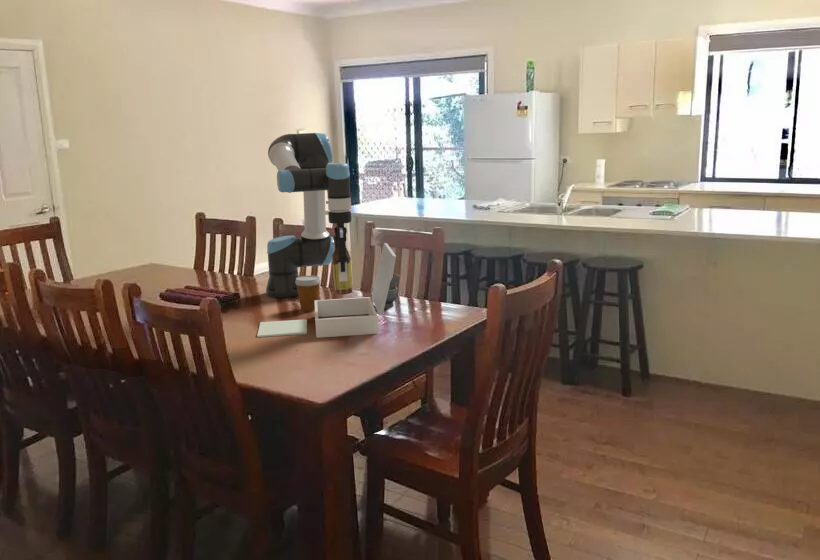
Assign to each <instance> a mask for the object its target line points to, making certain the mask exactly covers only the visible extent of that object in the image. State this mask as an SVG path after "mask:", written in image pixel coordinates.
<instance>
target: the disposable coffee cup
mask: <svg viewBox="0 0 820 560" xmlns="http://www.w3.org/2000/svg"><path fill="white" fill-rule="evenodd" d="M321 281H322V280H321V278H320V276H319V275H302V276H299V277H297V278H296V281H295V283H296V285H297V290H298V295H297V296H298V299H299V306H300V309H301V311H302V312H315V302H314V300H320V299H319V298H320V288H321V287H320V286H321Z"/></svg>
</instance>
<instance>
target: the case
mask: <svg viewBox="0 0 820 560" xmlns="http://www.w3.org/2000/svg"><path fill="white" fill-rule="evenodd" d="M314 302H315V311H314V320H315V338H319V339H320V338H332V337H346V336H348V337H349V336H361V335H378V334H379V325H378V312H377V310H376V309H375V308H376V307H375V305H374V302H373V299H372V297H371V296H367V297H366V296H365V297H351V298H349V297H346V298H334V299H332V298H331V299H319V300H314ZM354 315H355V316H354ZM339 316H340V317H339Z"/></svg>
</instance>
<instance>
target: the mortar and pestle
mask: <svg viewBox="0 0 820 560" xmlns="http://www.w3.org/2000/svg"><path fill="white" fill-rule="evenodd" d="M399 279H401V275H400V274H397V273H394V272H393V273H392V277H391V282H390V286H389V290H388V294H387V299H386V303H385V307H384V309H391V308H394V307H395V306H394V305H395V304H394V302H395V301H396V300H397V297H398V295H399V294H398V293H399V288H398V286H397V284H398V282H399ZM373 288H374V287H372V288H371V291H372V293H373Z"/></svg>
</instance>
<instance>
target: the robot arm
mask: <svg viewBox="0 0 820 560" xmlns="http://www.w3.org/2000/svg"><path fill="white" fill-rule="evenodd" d="M267 155H268V159H269V162H270V163H271V164H272V165H273V166H274V167H276V168H275V169H276V171H277V172H276V184H277V190H278V191H279V192H280V193H289V194H290V193H291V194H292V193H303V194H302V195H303V218H304V219H303V222H304V230H303V231H302V232H301V235H300V238H297V237H296V236H295V235H294V234H293V235H284V236H278V237H274V238H272V239H270V240H268V242H267V246H266V249H267V251H266V254H267V261H268V275H269V276H268V278H267V279H268V280H267V285H266V289H265V293H266V295H265V296H267V297H269V298H279V299H280V298H281V299H282V298H284V299H285V298H292V297H297V296H299V295H298V290H297V285H296V283H295V281H296V278H297V277H300V275H299V271H298V270H299V269H298V268H306V267H308V268H309V267H321V266H326V265H331V263H333V259H332V255H333V252H334V250H335V241H334V236H330V232H329V231H328V230H327V228H326V227H327V226H326V225H327V224H326V223H327V220H326V219H327V218H328V223H330V224H334V225H335V224H336V226H335V227H334V235H336V242H338V256H339V260H338V261H337V263H338V266H339V282H340V281H347V262H346V261H347V258H346V248H347V234H348V233H347V232H348V230H347V226H345V224H349V223H351V222H352V211H351V209H352V203H351V202H352V199H351V185H350V184H351V182H350V180H351V179H350V178H351V177H350V176H351V173H350V165H349V164H348V163H346V162H333V149H332V146H331V141H330V139H329V137H328V135H327V134H326V133H321V132H308V133H307V132H306V133H305V132H303V133H288V134H283V135H280V136H278V137H277V138H275V139H274V140H273V141H272V142H271V144H270V145H269V147H268V149H267ZM326 191H327V200H326ZM326 205H327V208H328V210H329V211H328V214H327V213H326ZM326 214H327V215H328V217H327V216H326ZM326 217H327V218H326ZM337 236H338V237H337ZM343 257H344V258H343Z"/></svg>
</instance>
